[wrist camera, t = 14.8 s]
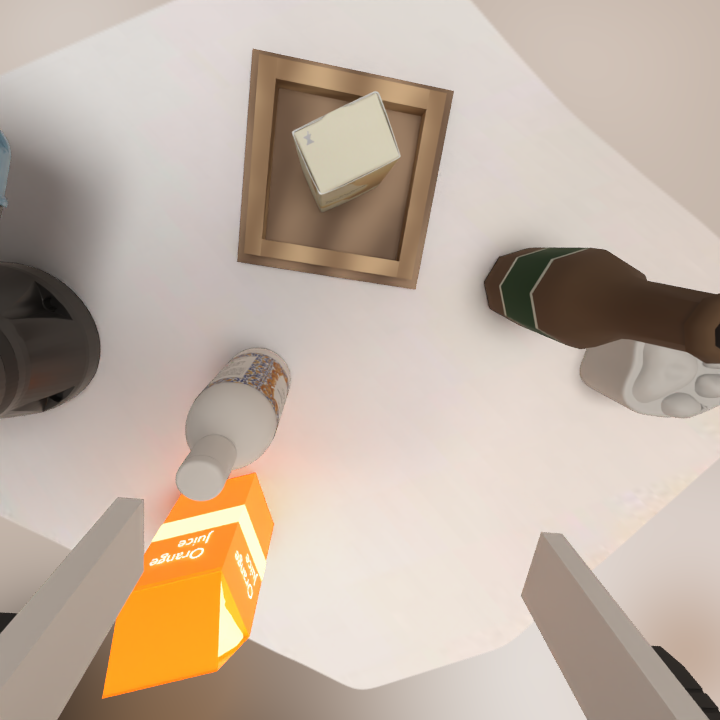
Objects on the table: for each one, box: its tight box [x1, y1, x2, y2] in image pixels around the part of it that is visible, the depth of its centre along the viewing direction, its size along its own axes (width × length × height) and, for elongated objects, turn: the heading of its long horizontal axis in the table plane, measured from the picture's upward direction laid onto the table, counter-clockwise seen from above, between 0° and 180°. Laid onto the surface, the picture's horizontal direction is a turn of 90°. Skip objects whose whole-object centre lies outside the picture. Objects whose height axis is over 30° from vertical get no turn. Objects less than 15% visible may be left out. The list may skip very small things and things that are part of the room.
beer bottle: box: [484, 248, 720, 364], centre depth 31 cm, size 8×8×24 cm
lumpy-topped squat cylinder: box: [580, 339, 720, 418], centre depth 41 cm, size 10×13×9 cm
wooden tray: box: [237, 49, 454, 289], centre depth 37 cm, size 18×18×3 cm
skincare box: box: [292, 91, 401, 212], centre depth 31 cm, size 6×4×12 cm
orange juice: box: [103, 473, 274, 698], centre depth 38 cm, size 8×9×20 cm
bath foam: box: [176, 348, 291, 501], centre depth 33 cm, size 7×7×20 cm
